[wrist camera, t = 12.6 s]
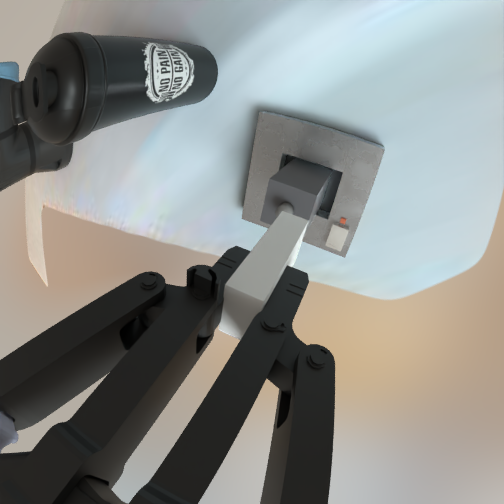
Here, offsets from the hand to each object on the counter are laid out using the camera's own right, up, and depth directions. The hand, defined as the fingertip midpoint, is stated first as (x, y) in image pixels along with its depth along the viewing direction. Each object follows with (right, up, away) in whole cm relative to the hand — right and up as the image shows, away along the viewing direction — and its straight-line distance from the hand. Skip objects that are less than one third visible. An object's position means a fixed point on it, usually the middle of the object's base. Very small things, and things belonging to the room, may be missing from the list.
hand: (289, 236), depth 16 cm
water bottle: (-10, +22, +15) cm, 29 cm away
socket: (+5, +7, +17) cm, 19 cm away
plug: (+5, +8, +17) cm, 19 cm away
